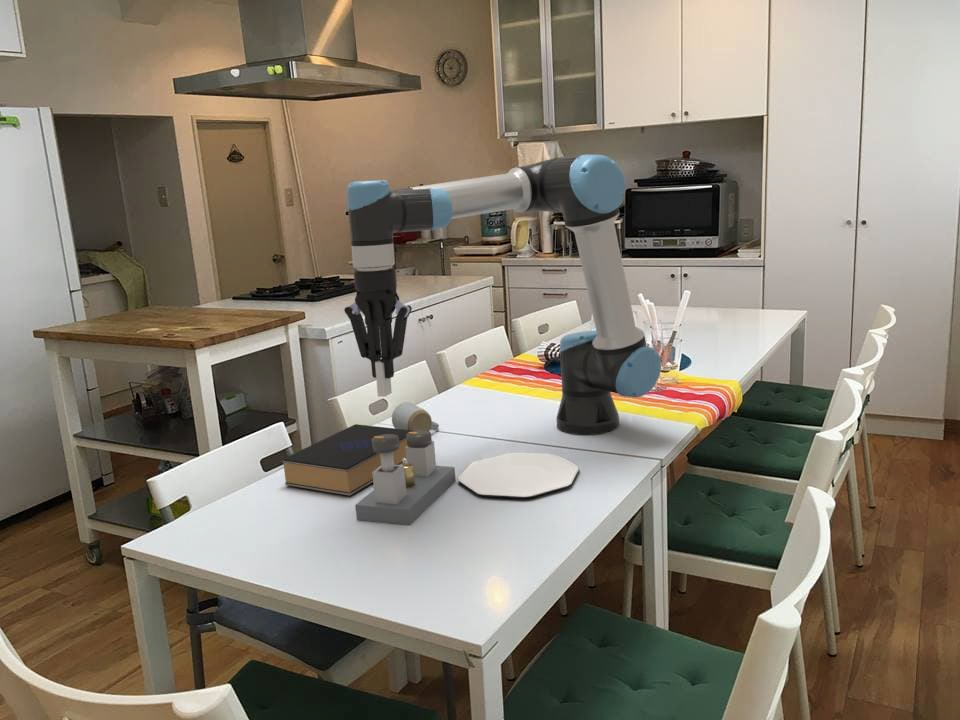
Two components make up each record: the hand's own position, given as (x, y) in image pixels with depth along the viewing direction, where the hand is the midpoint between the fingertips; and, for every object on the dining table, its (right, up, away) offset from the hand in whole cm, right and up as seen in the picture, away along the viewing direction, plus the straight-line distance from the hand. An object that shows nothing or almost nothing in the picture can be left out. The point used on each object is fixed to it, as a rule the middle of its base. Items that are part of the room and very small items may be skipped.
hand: (384, 394), depth 151 cm
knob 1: (+1, -16, +1) cm, 16 cm away
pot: (+3, -18, +8) cm, 20 cm away
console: (+4, -21, +9) cm, 23 cm away
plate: (+26, -18, +16) cm, 36 cm away
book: (-10, -19, +27) cm, 34 cm away
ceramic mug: (+2, -12, +50) cm, 52 cm away
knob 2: (+6, -16, +15) cm, 23 cm away
